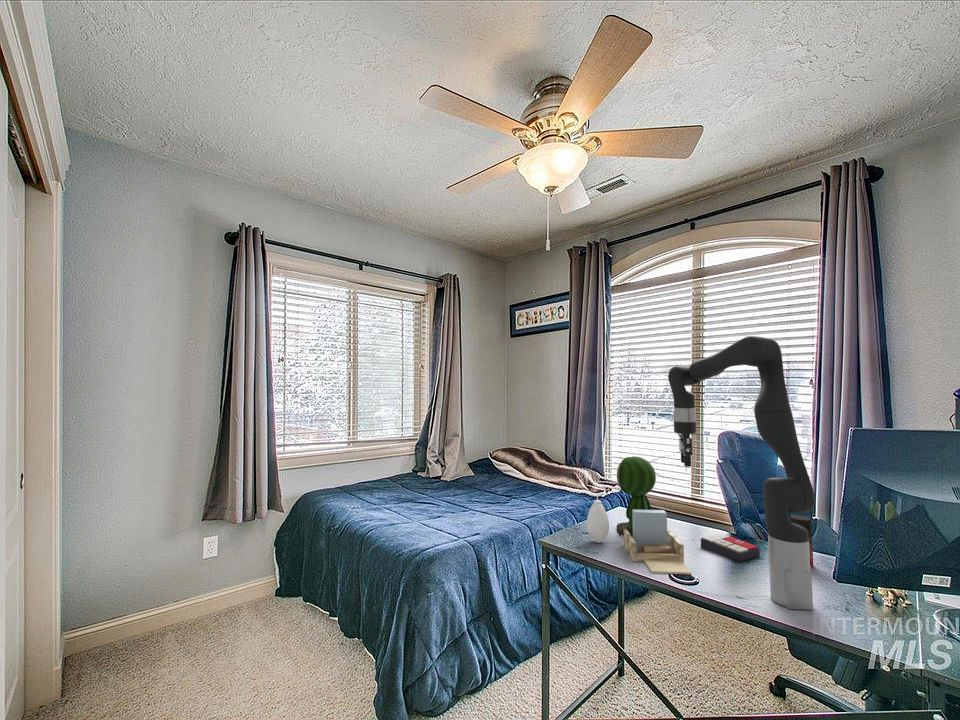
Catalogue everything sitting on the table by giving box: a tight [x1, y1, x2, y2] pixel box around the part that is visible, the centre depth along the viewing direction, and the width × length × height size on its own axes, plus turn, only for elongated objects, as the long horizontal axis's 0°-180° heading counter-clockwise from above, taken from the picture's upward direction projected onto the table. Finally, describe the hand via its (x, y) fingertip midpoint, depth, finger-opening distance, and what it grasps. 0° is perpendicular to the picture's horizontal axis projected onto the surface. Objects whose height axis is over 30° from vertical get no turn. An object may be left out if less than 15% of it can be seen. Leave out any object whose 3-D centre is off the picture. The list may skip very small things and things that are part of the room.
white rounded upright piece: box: [586, 493, 610, 544], centre depth 168 cm, size 8×8×18 cm
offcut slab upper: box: [641, 545, 672, 554], centre depth 152 cm, size 3×9×2 cm, turn 92°
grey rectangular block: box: [632, 509, 668, 553], centre depth 159 cm, size 4×11×14 cm, turn 84°
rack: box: [623, 529, 685, 564], centre depth 156 cm, size 15×16×6 cm
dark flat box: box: [700, 532, 761, 562], centre depth 158 cm, size 11×4×15 cm
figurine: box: [615, 456, 657, 538], centre depth 179 cm, size 17×20×30 cm
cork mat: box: [643, 560, 692, 575], centre depth 144 cm, size 9×12×1 cm
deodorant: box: [788, 514, 814, 567], centre depth 147 cm, size 6×6×15 cm
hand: (686, 464), depth 163 cm, fingers open, 8 cm apart
